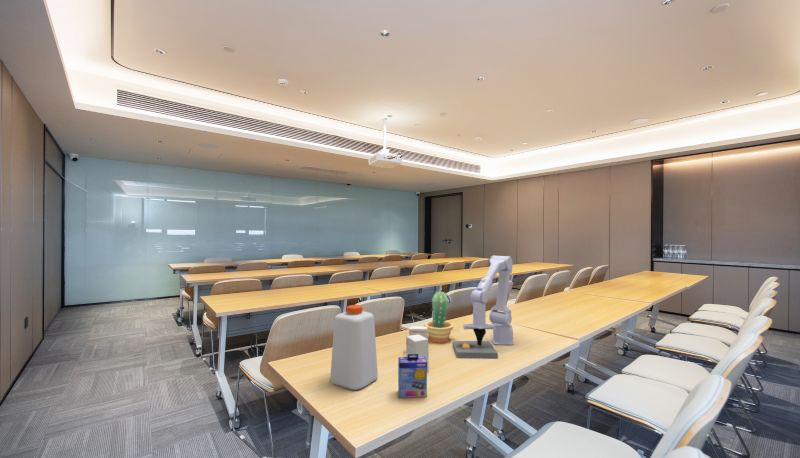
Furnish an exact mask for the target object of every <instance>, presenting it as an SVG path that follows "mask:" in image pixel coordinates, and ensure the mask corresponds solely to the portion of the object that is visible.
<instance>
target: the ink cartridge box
mask: <svg viewBox="0 0 800 458" xmlns="http://www.w3.org/2000/svg"><path fill="white" fill-rule="evenodd" d="M413 355H414V356H416V357H409V356H413ZM397 363H398V364H397V367H398V369H397V371H398V372H397V378H398V380H397V381H398V385H397V386H398V398H400V399H401V398H402V399H403V398H427V397H428V393H427V392H428V372H427V360H426V358H425V356H418V354H408V357H406V356H399V357H398V362H397Z"/></svg>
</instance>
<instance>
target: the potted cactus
mask: <svg viewBox="0 0 800 458" xmlns="http://www.w3.org/2000/svg"><path fill="white" fill-rule="evenodd" d="M450 305H452V298H451V296H450V294H448V293H445V291H436V292H435V293H434V294H433V296H432V298H431V308H432V320H429V321H427V322H424V324H423V327H427V329H428V336H429V337H430V339H429V340H430V341H431V342H433V343H439V344H441V343H442V344H443V343H447V342H448V338H449V336H450V334H451V332H452V330H454V329H453V328H454V324H453V323H452V322H451V321H450V322H449V321H446V318H447V317H446V316H447V313H448V311H449V307H450Z"/></svg>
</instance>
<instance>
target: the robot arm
mask: <svg viewBox="0 0 800 458" xmlns="http://www.w3.org/2000/svg"><path fill="white" fill-rule="evenodd" d="M513 263H514V261H513V259H512V257H511V255H506V256H505V255H494V254H493V255H492V256H490V259H489V268H488V270H487V272H486V275H485V277H482V278H480V279H481V280H480V281H479V283H478V285H477V287H476V288H475V289H474V290H472V291H471V293H470V300H471V305H472V323H469V324H468V323H467V324H463V330H472V331H473V333H474V335H475V338H476V341H477V344H478V345H481V344H482V341H484V340H483V339H484V337H485V335H486V333H487V330H492V333H493V334H492V338H490V340H491V341H492V343H493V344H494V345H499V346H502V345H503V346H505V345H506V346H507V345H508V346H509V345H510V346H511V345H514V328H513V326H512V324H511V323H512V320H513V317H512V310H511V309H510V308H509V307H508V306H507V304H508V293H509V286H510V285H509V284H510V277H511V276H510V274H511V273H513V266H514V264H513ZM497 274H498V284H497V294H496V302H495V305H493V306H492V307H491V309H490V312H489V317H488V318H489V321H490V322H491V324H490V323H489V324H487V323H486V322H487V321H486V317H487V316H486V310H487V309H486V308H487V307H486V303H487V302H488V300H489V295H490V290H491V288H492V286H493V285H494V284H493V280H494V278H495V277H496V276H497Z"/></svg>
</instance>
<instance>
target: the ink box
mask: <svg viewBox="0 0 800 458" xmlns="http://www.w3.org/2000/svg"><path fill="white" fill-rule="evenodd" d="M408 331H409V332H408V336H410V335H417V334H419V335H421V336H423V337H425V338H427V339H428V340H429V337H428V336H429V334H428V329H427V327H425V326H412V325H411V326H409V328H408Z"/></svg>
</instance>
